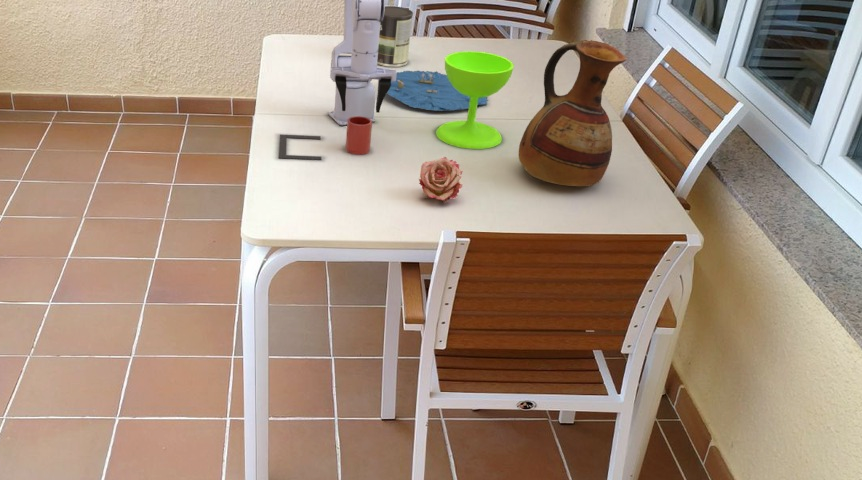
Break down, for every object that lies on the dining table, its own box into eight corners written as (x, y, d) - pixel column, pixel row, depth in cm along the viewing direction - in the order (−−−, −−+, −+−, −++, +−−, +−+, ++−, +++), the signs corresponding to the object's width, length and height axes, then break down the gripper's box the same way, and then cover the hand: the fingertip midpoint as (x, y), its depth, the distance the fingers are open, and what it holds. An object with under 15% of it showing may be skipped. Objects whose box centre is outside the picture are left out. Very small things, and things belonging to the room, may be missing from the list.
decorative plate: (457, 76, 274) (460, 58, 271) (505, 113, 251) (509, 93, 248) (360, 77, 265) (362, 58, 262) (400, 116, 242) (402, 95, 239)
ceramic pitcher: (586, 204, 206) (618, 65, 189) (500, 179, 214) (522, 43, 197) (616, 174, 220) (648, 42, 203) (534, 152, 228) (558, 23, 211)
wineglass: (459, 152, 225) (469, 76, 215) (423, 128, 237) (431, 54, 227) (515, 143, 232) (527, 69, 222) (477, 120, 243) (487, 48, 233)
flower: (415, 176, 209) (415, 157, 201) (457, 169, 209) (458, 150, 201) (423, 216, 205) (423, 198, 198) (465, 209, 205) (467, 190, 198)
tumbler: (363, 144, 227) (365, 115, 223) (373, 153, 222) (376, 124, 218) (341, 146, 225) (343, 117, 221) (351, 155, 221) (353, 126, 217)
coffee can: (374, 66, 273) (379, 15, 265) (370, 55, 282) (373, 5, 274) (410, 67, 274) (416, 16, 266) (404, 56, 283) (409, 6, 275)
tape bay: (320, 136, 229) (320, 136, 229) (321, 160, 218) (321, 159, 217) (279, 135, 228) (279, 134, 228) (278, 158, 217) (278, 157, 217)
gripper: (332, 54, 207) (328, 115, 214) (399, 57, 208) (393, 118, 215) (331, 43, 212) (328, 103, 220) (397, 47, 213) (391, 106, 221)
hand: (360, 110), depth 218 cm, fingers open, 7 cm apart
